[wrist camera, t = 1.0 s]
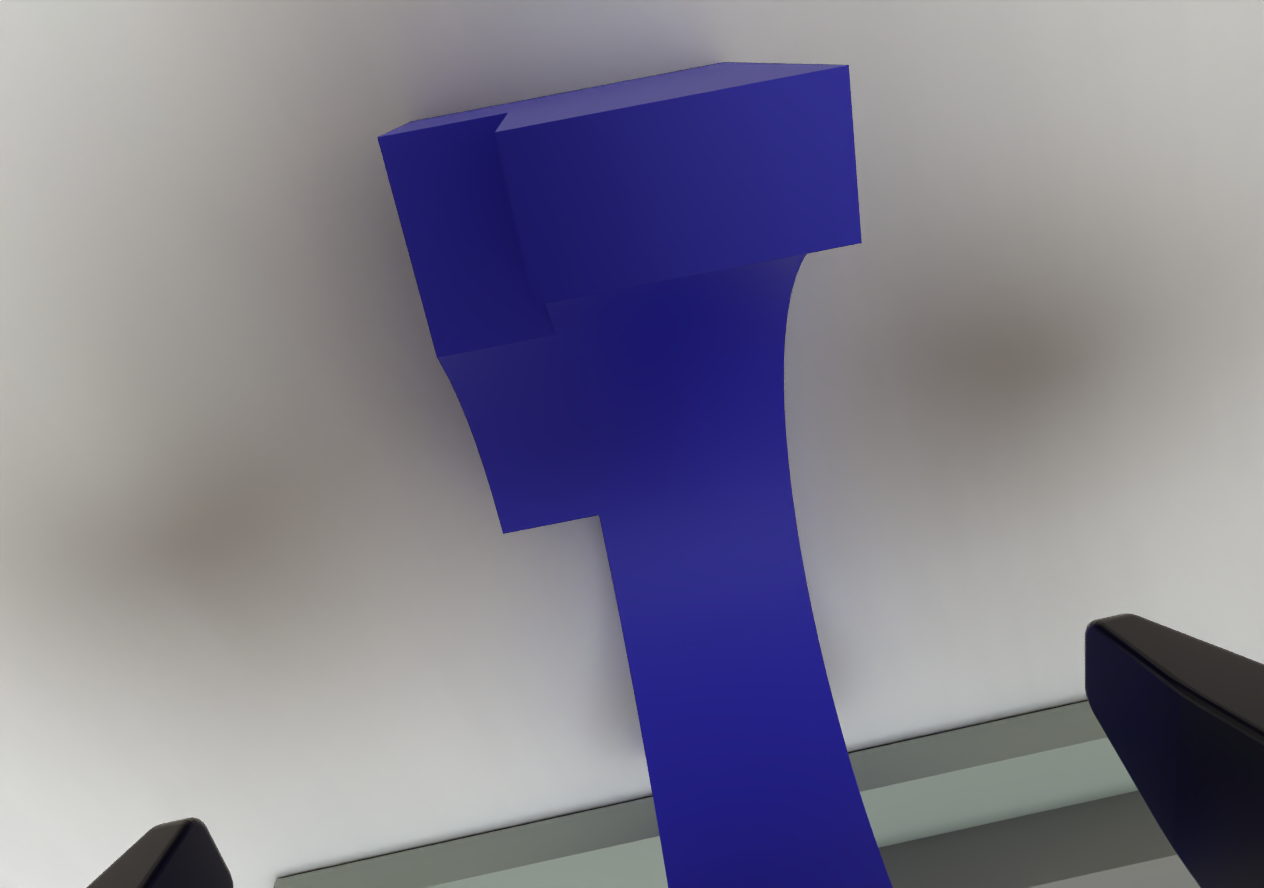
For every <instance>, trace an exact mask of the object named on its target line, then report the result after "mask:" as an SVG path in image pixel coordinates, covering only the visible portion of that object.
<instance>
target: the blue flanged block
mask: <svg viewBox="0 0 1264 888" xmlns="http://www.w3.org/2000/svg"><path fill="white" fill-rule="evenodd" d="M378 141H379V145H380V148H381V152H382V156H383V160H384V163H385V167H386V171H387V174H388V178H389V182H390V185H391V189H392V193H393V197H394V200H395V204H396V208H397V211H398V215H399V219H400V222H401V226H402V230H403V233H404V237H405V241H406V245H407V248H408V252H409V256H410V259H411V263H412V267H413V270H414V274H415V278H416V282H417V285H418V289H419V293H420V296H421V300H422V304H423V307H424V311H425V315H426V318H427V322H428V326H429V330H430V333H431V337H432V341H433V344H434V348H435V352H436V355H437V358H438V360H439V362H440V363H441V365H442V367H443V369H444V371H445V373H446V375H447V376H448V378H449V380H450V382H451V384H452V387H453V389H454V391H455V393H456V395H457V397H458V399H459V402H460V404H461V407H462V409H463V411H464V414H465V416H466V419H467V421H468V424H469V426H470V429H471V432H472V434H473V437H474V440H475V443H476V445H477V448H478V451H479V454H480V457H481V460H482V463H483V466H484V469H485V472H486V476H487V479H488V482H489V485H490V489H491V492H492V495H493V499H494V502H495V506H496V509H497V513H498V516H499V520H500V524H501V527H502V531H503V534H504V533H509V532H515V531H520V530H525V529H530V528H535V527H540V526H545V525H550V524H556V523H561V522H566V521H571V520H576V519H581V518H586V517H591V516H596V515H599V517H600V522H601V526H602V531H603V536H604V541H605V546H606V551H607V555H608V560H609V565H610V570H611V575H612V580H613V585H614V590H615V595H616V600H617V605H618V610H619V615H620V621H621V626H622V631H623V636H624V641H625V646H626V652H627V657H628V662H629V668H630V673H631V678H632V683H633V689H634V694H635V700H636V705H637V710H638V716H639V721H640V727H641V732H642V738H643V743H644V749H645V755H646V760H647V766H648V772H649V777H650V783H651V789H652V794H653V800H654V806H655V812H656V818H657V823H658V829H659V835H660V841H661V847H662V853H663V859H664V865H665V871H666V877H667V883H668V888H893V887H892V884H891V881H890V879H889V876H888V873H887V871H886V868H885V865H884V863H883V860H882V857H881V854H880V851H879V848H878V846H877V843H876V840H875V837H874V834H873V831H872V828H871V825H870V822H869V819H868V816H867V813H866V810H865V807H864V804H863V801H862V798H861V795H860V791H859V788H858V785H857V782H856V779H855V775H854V772H853V769H852V766H851V762H850V759H849V755H848V752H847V748H846V745H845V742H844V738H843V735H842V731H841V727H840V724H839V720H838V716H837V713H836V709H835V705H834V702H833V698H832V694H831V690H830V686H829V682H828V678H827V674H826V670H825V666H824V661H823V657H822V653H821V649H820V645H819V640H818V636H817V631H816V627H815V622H814V617H813V613H812V608H811V603H810V598H809V593H808V588H807V583H806V578H805V572H804V567H803V561H802V555H801V550H800V544H799V537H798V531H797V525H796V518H795V511H794V504H793V497H792V489H791V480H790V472H789V463H788V452H787V440H786V426H785V410H784V347H785V332H786V323H787V314H788V308H789V302H790V297H791V292H792V288H793V285H794V281H795V277H796V275H797V272H798V270H799V267H800V265H801V262H802V260H803V259H804V257H805V256H806V254H807V253H812V252H817V251H822V250H827V249H833V248H838V247H843V246H848V245H853V244H859V243H861V229H860V215H859V202H858V188H857V174H856V160H855V146H854V133H853V119H852V105H851V91H850V77H849V65H823V64H779V63H735V62H723V63H717V64H712V65H707V66H702V67H696V68H691V69H686V70H681V71H675V72H670V73H665V74H659V75H654V76H649V77H644V78H638V79H633V80H628V81H622V82H617V83H612V84H607V85H601V86H596V87H591V88H585V89H580V90H575V91H570V92H564V93H559V94H554V95H549V96H543V97H538V98H533V99H527V100H522V101H517V102H512V103H506V104H501V105H496V106H490V107H485V108H480V109H475V110H469V111H464V112H459V113H453V114H448V115H443V116H438V117H432V118H427V119H422V120H417V121H411V122H409V123H407V124H405V125H402V126H400V127H398V128H396V129H394V130H392V131H390V132H388V133H386V134H383V135H381V136H379V137H378Z"/></svg>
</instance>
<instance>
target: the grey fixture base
mask: <svg viewBox="0 0 1264 888" xmlns="http://www.w3.org/2000/svg"><path fill="white" fill-rule="evenodd" d="M848 755H849V759H850V762H851V766H852V769H853V772H854V775H855V779H856V782H857V785H858V788H859V791H860V795H861V798H862V801H863V804H864V807H865V810H866V813H867V816H868V819H869V822H870V825H871V828H872V831H873V834H874V837H875V840H876V843H877V846H878V848H879V851H880V854H881V857H882V860H883V863H884V865H885V868H886V871H887V873H888V876H889V879H890V881H891V884H892V887H893V888H1200V886H1199V885H1198V884H1197V882H1196V881H1195V879H1194V878H1193V877H1192V875H1191V874H1190V873H1189V871H1188V870H1187V868H1186V867H1185V865H1184V864H1183V862H1182V861H1181V860H1180V858H1179V857H1178V855H1177V854H1176V852H1175V851H1174V849H1173V848H1172V846H1171V845H1170V843H1169V842H1168V840H1167V838H1166V837H1165V835H1164V833H1163V832H1162V830H1161V829H1160V827H1159V825H1158V824H1157V822H1156V820H1155V818H1154V817H1153V815H1152V813H1151V812H1150V810H1149V808H1148V806H1147V805H1146V803H1145V801H1144V799H1143V798H1142V796H1141V794H1140V793H1139V791H1138V789H1137V787H1136V786H1135V784H1134V782H1133V781H1132V779H1131V777H1130V775H1129V774H1128V772H1127V770H1126V768H1125V767H1124V765H1123V763H1122V762H1121V760H1120V758H1119V756H1118V755H1117V753H1116V751H1115V750H1114V748H1113V746H1112V744H1111V743H1110V741H1109V739H1108V738H1107V736H1106V734H1105V732H1104V731H1103V729H1102V727H1101V725H1100V724H1099V722H1098V720H1097V719H1096V717H1095V715H1094V713H1093V711H1092V710H1091V707H1090V705H1089V702H1088V701H1085V702H1080V703H1076V704H1071V705H1067V706H1062V707H1058V708H1053V709H1049V710H1044V711H1040V712H1035V713H1030V714H1026V715H1021V716H1017V717H1012V718H1008V719H1003V720H999V721H994V722H990V723H985V724H980V725H976V726H971V727H967V728H962V729H958V730H953V731H949V732H944V733H939V734H935V735H930V736H926V737H921V738H917V739H912V740H908V741H903V742H899V743H894V744H889V745H885V746H880V747H876V748H871V749H867V750H862V751H858V752H853V753H849V754H848ZM274 888H668V883H667V877H666V871H665V865H664V859H663V853H662V847H661V841H660V835H659V829H658V823H657V818H656V812H655V806H654V800H653V797H648V798H644V799H639V800H635V801H630V802H626V803H621V804H617V805H612V806H607V807H603V808H598V809H594V810H589V811H585V812H580V813H576V814H571V815H567V816H562V817H557V818H553V819H548V820H544V821H539V822H535V823H530V824H526V825H521V826H517V827H512V828H507V829H503V830H498V831H494V832H489V833H485V834H480V835H476V836H471V837H467V838H462V839H457V840H453V841H448V842H444V843H439V844H435V845H430V846H426V847H421V848H416V849H412V850H407V851H403V852H398V853H394V854H389V855H385V856H380V857H376V858H371V859H366V860H362V861H357V862H353V863H348V864H344V865H339V866H335V867H330V868H326V869H321V870H316V871H312V872H307V873H303V874H298V875H294V876H289V877H285V878H280V879H276V882H275V885H274Z"/></svg>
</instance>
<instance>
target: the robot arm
mask: <svg viewBox="0 0 1264 888" xmlns="http://www.w3.org/2000/svg"><path fill="white" fill-rule="evenodd" d="M1085 690H1086V696H1087V699H1088V702H1089V705H1090V707H1091V710H1092V711H1093V713H1094V715H1095V717H1096V719H1097V720H1098V722H1099V724H1100V725H1101V727H1102V729H1103V731H1104V732H1105V734H1106V736H1107V738H1108V739H1109V741H1110V743H1111V744H1112V746H1113V748H1114V750H1115V751H1116V753H1117V755H1118V756H1119V758H1120V760H1121V762H1122V763H1123V765H1124V767H1125V768H1126V770H1127V772H1128V774H1129V775H1130V777H1131V779H1132V781H1133V782H1134V784H1135V786H1136V787H1137V789H1138V791H1139V793H1140V794H1141V796H1142V798H1143V799H1144V801H1145V803H1146V805H1147V806H1148V808H1149V810H1150V812H1151V813H1152V815H1153V817H1154V818H1155V820H1156V822H1157V824H1158V825H1159V827H1160V829H1161V830H1162V832H1163V833H1164V835H1165V837H1166V838H1167V840H1168V842H1169V843H1170V845H1171V846H1172V848H1173V849H1174V851H1175V852H1176V854H1177V855H1178V857H1179V858H1180V860H1181V861H1182V862H1183V864H1184V865H1185V867H1186V868H1187V870H1188V871H1189V873H1190V874H1191V875H1192V877H1193V878H1194V879H1195V881H1196V882H1197V884H1198V885H1199V886H1200V888H1264V664H1261V663H1259V662H1256V661H1254V660H1251V659H1248V658H1246V657H1243V656H1241V655H1238V654H1235V653H1233V652H1230V651H1228V650H1225V649H1223V648H1220V647H1217V646H1215V645H1212V644H1210V643H1207V642H1204V641H1202V640H1199V639H1197V638H1194V637H1191V636H1189V635H1186V634H1184V633H1181V632H1179V631H1176V630H1173V629H1171V628H1168V627H1166V626H1163V625H1160V624H1158V623H1155V622H1153V621H1150V620H1147V619H1145V618H1142V617H1140V616H1137V615H1134V614H1120V615H1116V616H1111V617H1107V618H1102V619H1097V620H1094V621H1092V622H1091V623H1089V625H1088V626H1087V628H1086V632H1085ZM87 888H233V881H232V877H231V874H230V872H229V870H228V868H227V866H226V864H225V862H224V860H223V858H222V856H221V854H220V852H219V850H218V848H217V846H216V844H215V843H214V841H213V839H212V837H211V835H210V833H209V831H208V829H207V827H206V826H205V824H204V823H203V822H202V821H201V820H199V819H197V818H186V819H182V820H177V821H173V822H168V823H163V824H160V825H157V826H155V827H153V828H152V829H150V830H149V831H148V832H147V833H146V834H145V835H144V836H143V837H141V838H140V839H139V840H138V841H137V842H136V843H135V844H134V845H133V846H132V847H131V848H129V849H128V850H127V851H126V852H125V853H124V854H123V855H122V856H121V857H120V858H119V859H117V860H116V861H115V862H114V863H113V864H112V865H111V866H110V867H109V868H108V869H107V870H105V871H104V872H103V873H102V874H101V875H100V876H99V877H98V878H97V879H96V880H95V881H93V882H92V883H91V884H90V885H89V886H88V887H87Z"/></svg>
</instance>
